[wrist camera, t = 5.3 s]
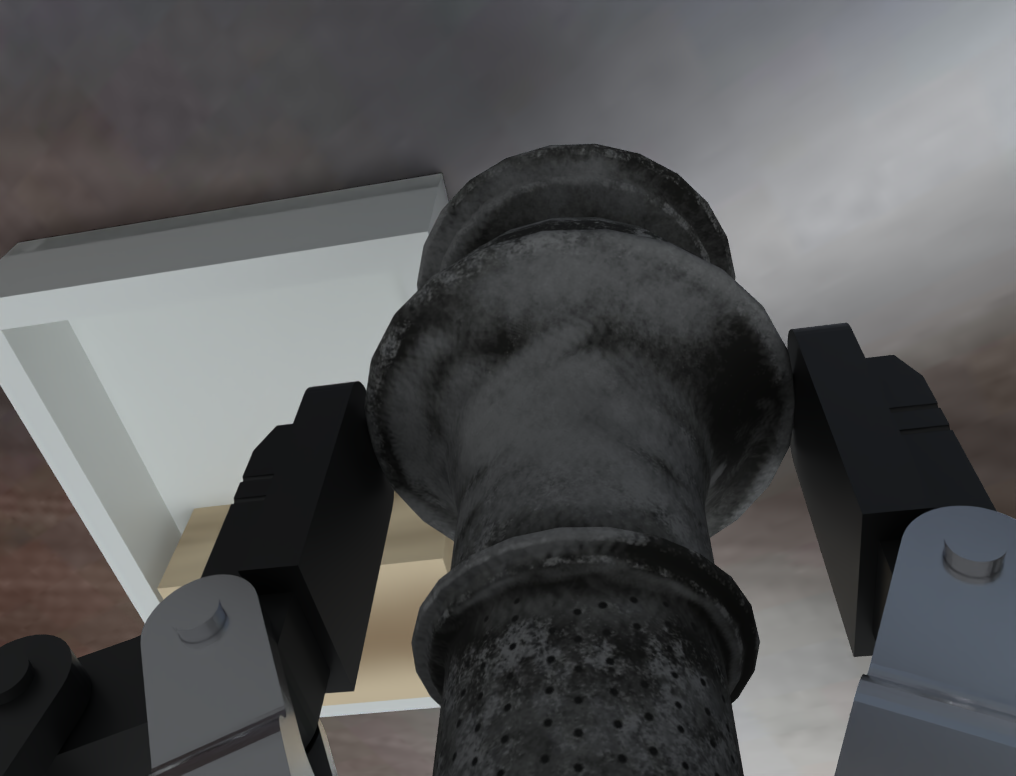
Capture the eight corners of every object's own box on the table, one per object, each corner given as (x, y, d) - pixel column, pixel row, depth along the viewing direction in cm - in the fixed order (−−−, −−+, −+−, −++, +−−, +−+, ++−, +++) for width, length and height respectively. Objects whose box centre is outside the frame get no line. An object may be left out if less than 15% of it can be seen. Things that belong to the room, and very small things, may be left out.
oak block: (194, 508, 35) (157, 588, 31) (453, 478, 33) (442, 558, 30) (256, 631, 39) (229, 713, 35) (490, 608, 37) (484, 692, 34)
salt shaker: (337, 326, 16) (5, 1247, 6) (533, 44, 13) (457, 972, 3) (604, 478, 18) (656, 1375, 8) (829, 259, 15) (1323, 1268, 5)
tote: (17, 242, 30) (-49, 305, 26) (442, 173, 28) (427, 231, 25) (234, 647, 41) (207, 726, 38) (547, 617, 39) (547, 698, 36)
